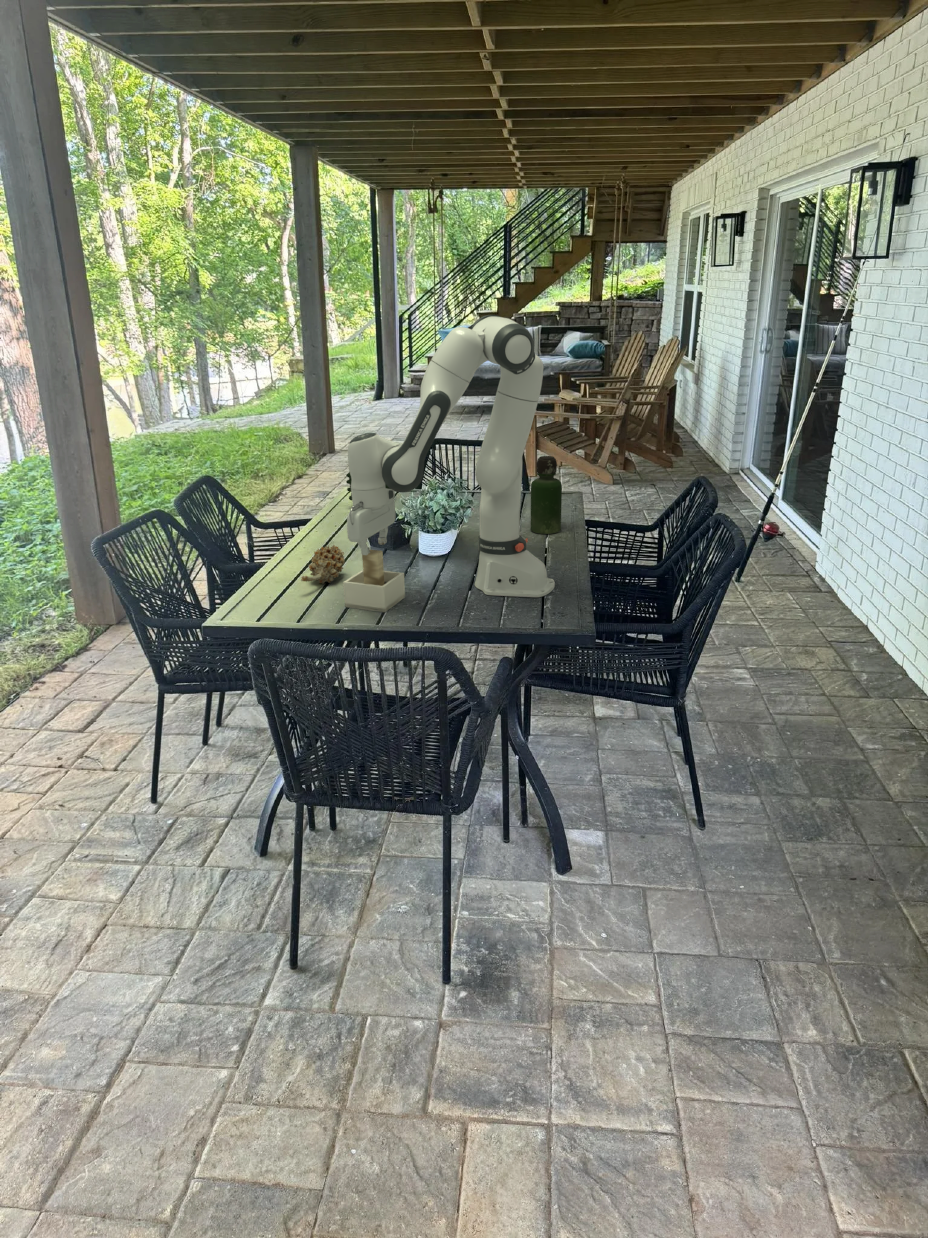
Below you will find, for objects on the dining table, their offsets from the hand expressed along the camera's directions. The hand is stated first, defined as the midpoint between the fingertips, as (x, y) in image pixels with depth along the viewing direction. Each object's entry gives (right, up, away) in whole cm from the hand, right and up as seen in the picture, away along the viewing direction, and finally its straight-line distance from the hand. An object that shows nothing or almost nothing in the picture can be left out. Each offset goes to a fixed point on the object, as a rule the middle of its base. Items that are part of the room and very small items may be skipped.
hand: (374, 549), depth 227 cm
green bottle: (+51, +12, +67) cm, 85 cm away
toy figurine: (-12, +25, +105) cm, 109 cm away
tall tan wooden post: (0, -13, +5) cm, 14 cm away
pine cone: (-17, -9, +20) cm, 27 cm away
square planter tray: (0, -14, +5) cm, 15 cm away
